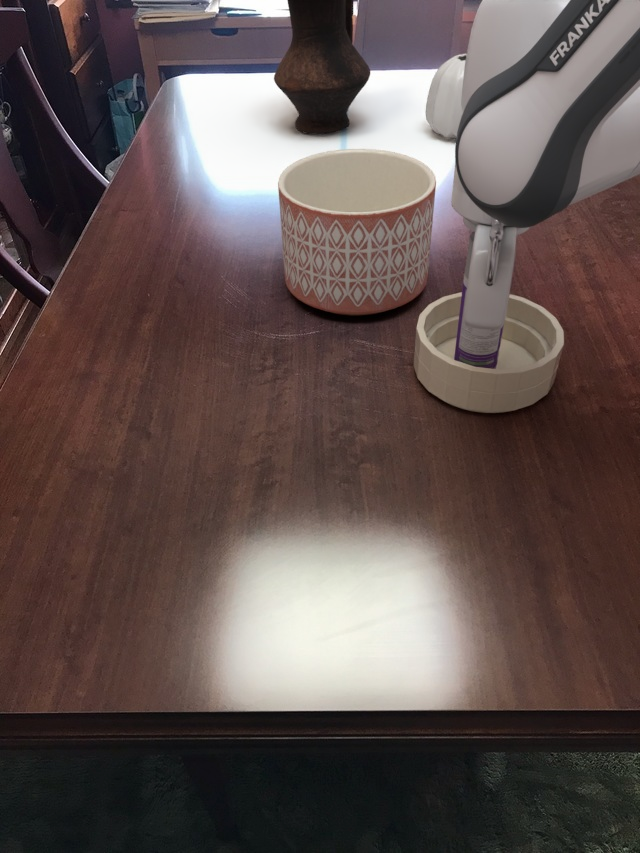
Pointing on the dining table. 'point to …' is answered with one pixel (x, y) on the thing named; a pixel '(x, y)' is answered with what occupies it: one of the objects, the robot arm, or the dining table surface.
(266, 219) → the dining table surface
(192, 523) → the dining table surface
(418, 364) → the bowl
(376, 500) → the dining table surface
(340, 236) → the planter
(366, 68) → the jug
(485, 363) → the container
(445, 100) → the vase
